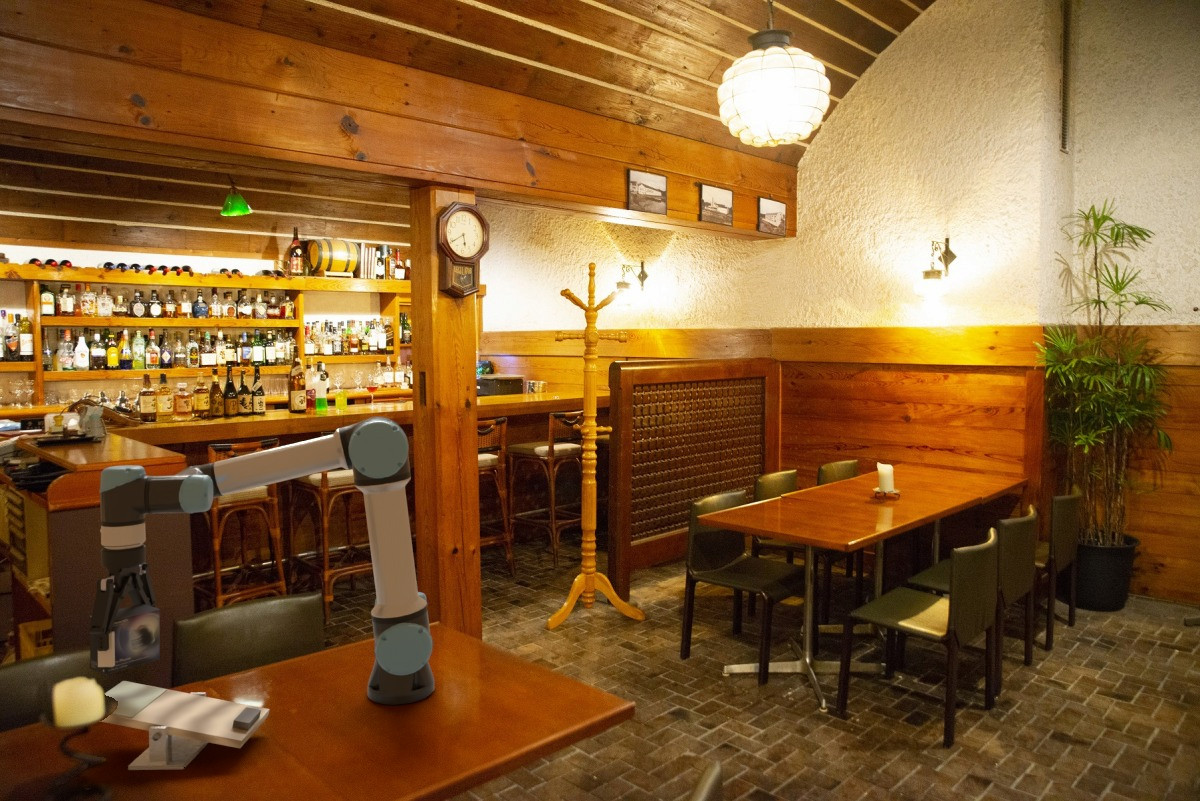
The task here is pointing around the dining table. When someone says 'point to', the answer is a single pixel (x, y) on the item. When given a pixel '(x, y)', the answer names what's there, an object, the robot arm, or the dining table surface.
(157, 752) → the pivot stand
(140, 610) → the small box
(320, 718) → the dining table surface
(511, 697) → the dining table surface
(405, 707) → the dining table surface
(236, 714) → the balance beam
